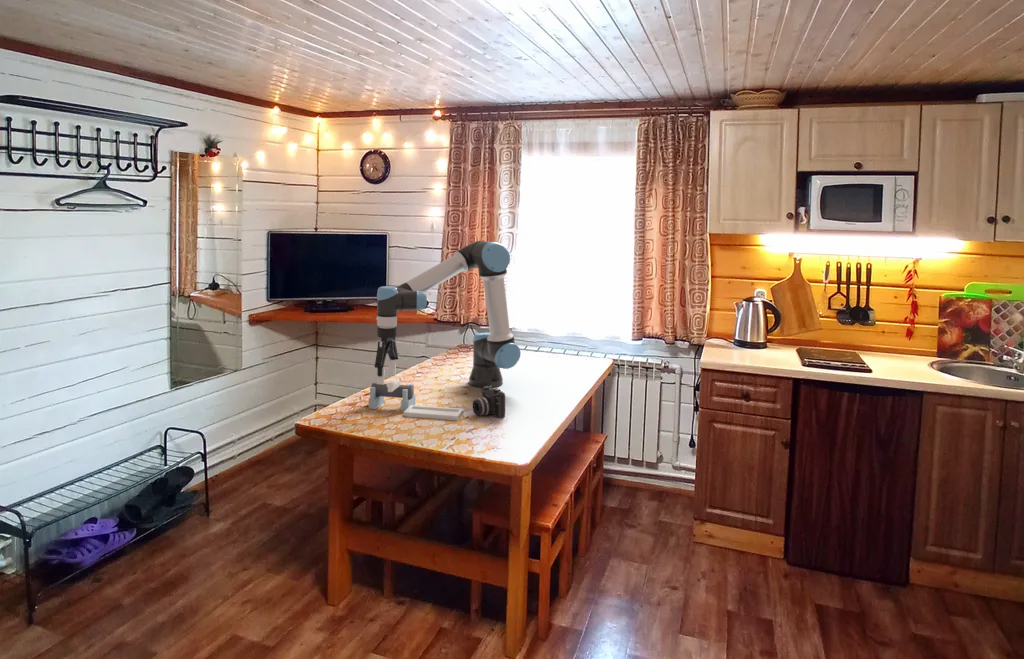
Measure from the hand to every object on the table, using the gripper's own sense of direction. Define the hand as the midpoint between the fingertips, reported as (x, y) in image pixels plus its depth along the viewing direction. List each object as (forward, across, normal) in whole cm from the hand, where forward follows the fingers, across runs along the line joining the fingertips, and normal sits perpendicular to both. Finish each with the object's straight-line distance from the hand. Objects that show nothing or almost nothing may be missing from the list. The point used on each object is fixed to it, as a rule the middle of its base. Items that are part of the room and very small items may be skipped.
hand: (386, 379), depth 273 cm
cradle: (+11, 0, +2) cm, 11 cm away
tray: (+11, +6, +21) cm, 24 cm away
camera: (+11, 0, +40) cm, 42 cm away
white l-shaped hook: (+1, +7, +5) cm, 9 cm away
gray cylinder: (+7, 0, +2) cm, 7 cm away
